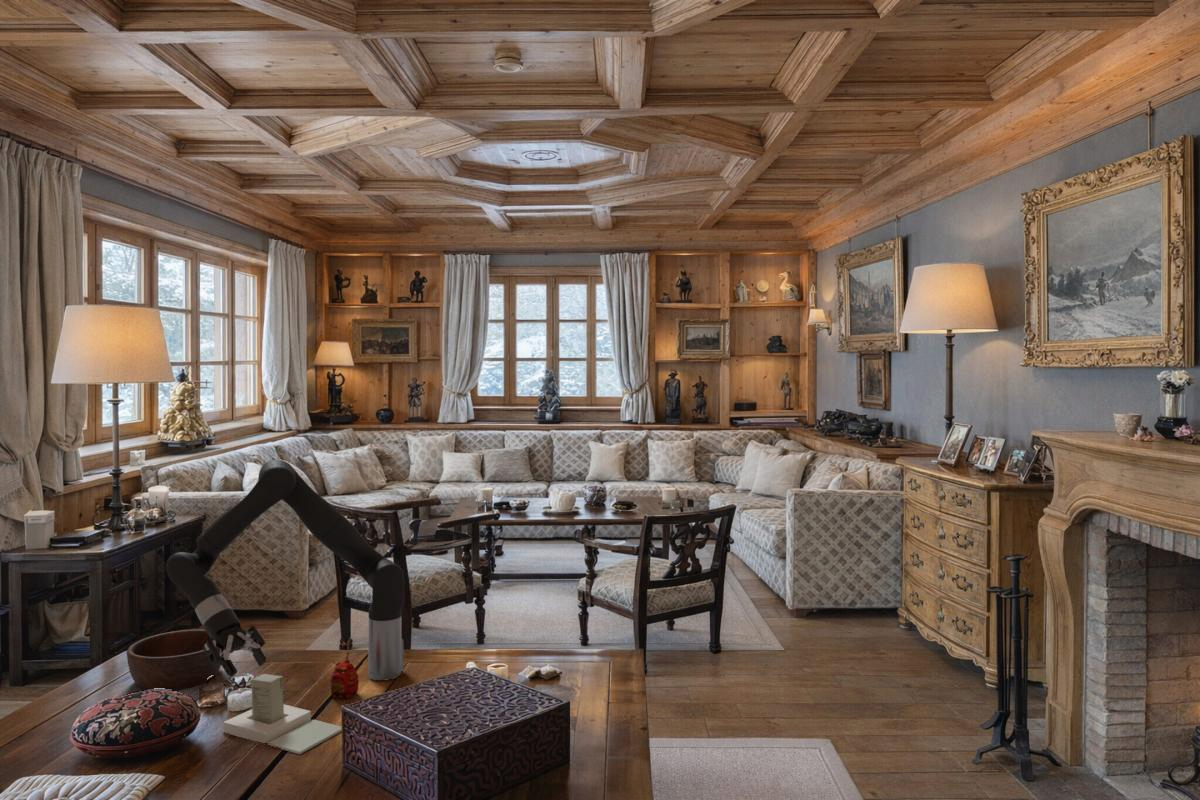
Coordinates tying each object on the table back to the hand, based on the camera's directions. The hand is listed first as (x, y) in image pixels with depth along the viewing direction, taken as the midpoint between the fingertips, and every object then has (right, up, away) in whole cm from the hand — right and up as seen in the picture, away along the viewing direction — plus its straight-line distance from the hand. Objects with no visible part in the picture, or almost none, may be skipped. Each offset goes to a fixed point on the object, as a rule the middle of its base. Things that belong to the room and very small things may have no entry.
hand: (249, 669), depth 192 cm
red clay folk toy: (+18, -13, +17) cm, 28 cm away
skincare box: (+6, -13, -3) cm, 15 cm away
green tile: (+18, -13, -8) cm, 24 cm away
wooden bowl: (-33, -13, +28) cm, 45 cm away
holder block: (+6, -13, -3) cm, 15 cm away
